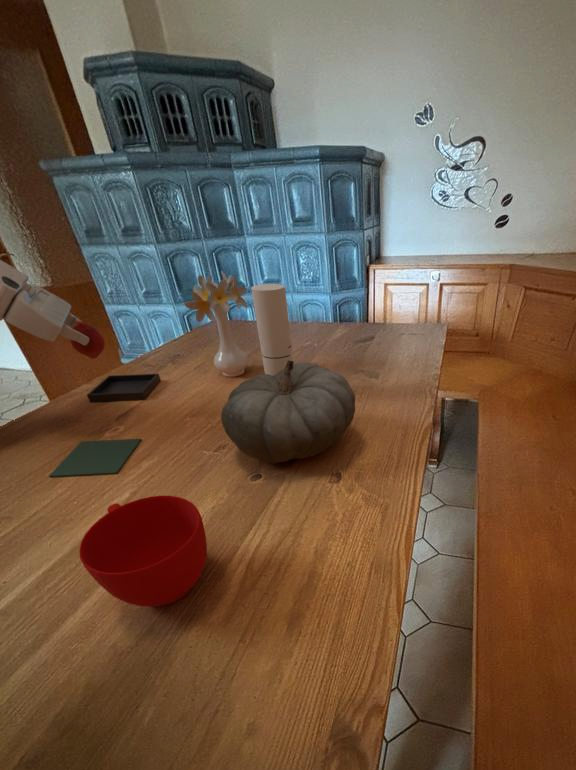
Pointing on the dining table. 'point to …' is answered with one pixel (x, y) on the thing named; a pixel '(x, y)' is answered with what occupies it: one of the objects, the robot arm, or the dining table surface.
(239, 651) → the dining table surface
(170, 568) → the ceramic cup
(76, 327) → the onion
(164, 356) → the dining table surface
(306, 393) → the gourd
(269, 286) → the cylindrical container
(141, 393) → the tray
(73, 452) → the mat
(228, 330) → the flower vase
